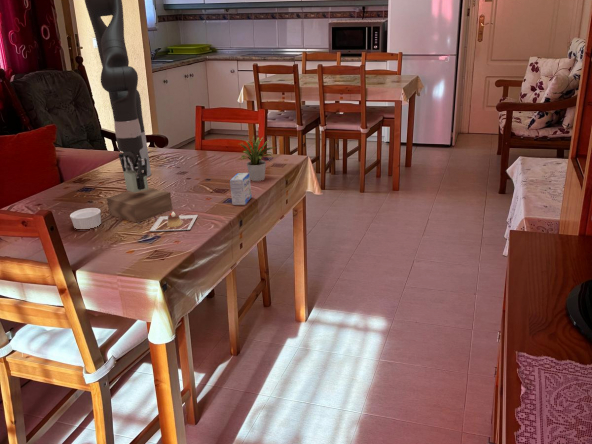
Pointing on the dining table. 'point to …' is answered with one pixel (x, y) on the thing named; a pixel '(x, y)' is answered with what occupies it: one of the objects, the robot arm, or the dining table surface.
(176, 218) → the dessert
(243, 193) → the medicine box
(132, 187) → the sage block
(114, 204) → the walnut block
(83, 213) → the ramekin
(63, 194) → the dining table surface
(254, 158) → the house plant
